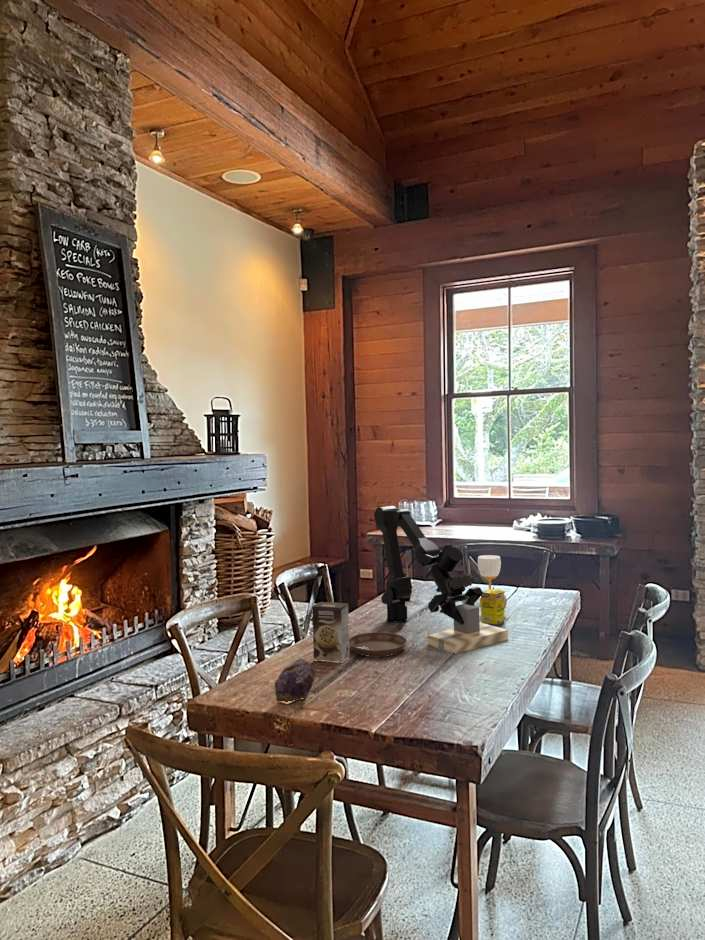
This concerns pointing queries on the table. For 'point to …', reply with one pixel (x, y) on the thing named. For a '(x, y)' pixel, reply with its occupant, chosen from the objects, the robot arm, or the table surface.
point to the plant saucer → (377, 643)
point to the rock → (294, 681)
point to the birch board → (467, 639)
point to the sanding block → (468, 620)
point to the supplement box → (492, 607)
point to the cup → (489, 567)
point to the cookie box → (330, 631)
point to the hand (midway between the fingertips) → (469, 622)
